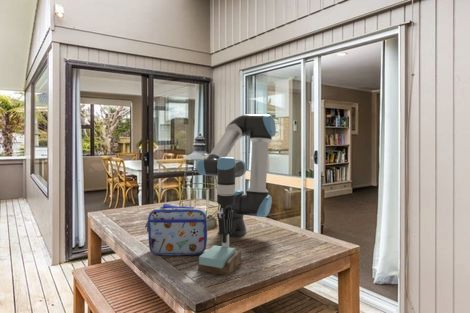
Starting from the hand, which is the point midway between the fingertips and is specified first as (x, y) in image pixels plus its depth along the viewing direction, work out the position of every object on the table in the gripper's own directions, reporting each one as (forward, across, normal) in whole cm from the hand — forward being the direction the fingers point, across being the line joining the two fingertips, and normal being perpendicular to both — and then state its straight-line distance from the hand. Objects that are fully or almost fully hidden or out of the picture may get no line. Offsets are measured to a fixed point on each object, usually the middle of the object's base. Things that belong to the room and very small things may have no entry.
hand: (225, 249), depth 136 cm
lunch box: (+6, -1, -24) cm, 25 cm away
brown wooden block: (+5, +5, 0) cm, 7 cm away
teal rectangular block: (+2, +8, 0) cm, 8 cm away
